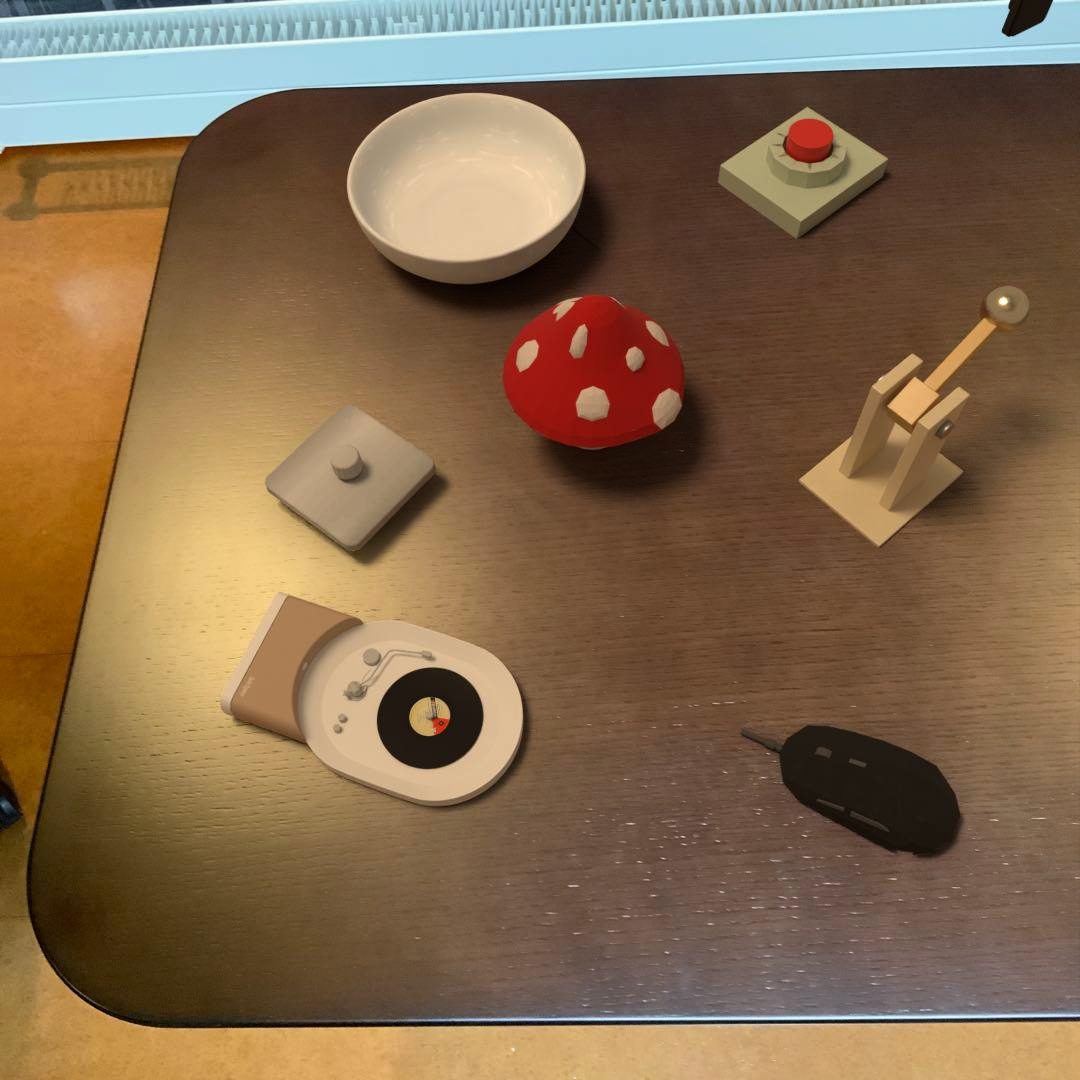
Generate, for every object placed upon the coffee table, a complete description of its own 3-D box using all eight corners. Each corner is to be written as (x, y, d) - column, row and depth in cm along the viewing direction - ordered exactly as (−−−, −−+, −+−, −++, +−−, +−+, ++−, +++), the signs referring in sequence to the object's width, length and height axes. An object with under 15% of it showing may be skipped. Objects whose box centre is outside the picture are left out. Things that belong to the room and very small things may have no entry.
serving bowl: (331, 191, 100) (315, 131, 94) (532, 129, 104) (530, 67, 98) (403, 345, 90) (391, 289, 84) (623, 271, 94) (626, 212, 88)
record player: (287, 573, 76) (546, 659, 72) (296, 592, 79) (546, 676, 75) (208, 718, 71) (484, 819, 67) (221, 733, 73) (486, 831, 70)
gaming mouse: (757, 694, 74) (767, 672, 70) (965, 788, 70) (986, 770, 67) (723, 771, 71) (731, 753, 68) (937, 874, 67) (957, 860, 64)
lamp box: (803, 125, 103) (811, 90, 100) (882, 177, 99) (893, 142, 96) (717, 183, 99) (722, 148, 96) (796, 239, 95) (805, 205, 92)
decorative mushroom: (502, 366, 89) (490, 234, 76) (664, 354, 89) (679, 220, 76) (512, 507, 82) (501, 388, 69) (687, 494, 82) (709, 372, 69)
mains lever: (1000, 289, 75) (1003, 269, 72) (1038, 314, 73) (1042, 295, 70) (882, 414, 76) (880, 400, 73) (917, 441, 74) (917, 427, 72)
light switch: (358, 567, 80) (346, 534, 75) (268, 501, 83) (251, 465, 79) (443, 480, 83) (435, 444, 79) (353, 420, 87) (341, 382, 82)
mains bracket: (879, 418, 85) (921, 319, 75) (959, 479, 82) (1014, 385, 72) (796, 487, 82) (827, 394, 72) (875, 554, 79) (920, 466, 69)
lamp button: (805, 128, 97) (809, 112, 96) (838, 149, 96) (842, 133, 94) (776, 148, 96) (779, 132, 95) (809, 170, 95) (813, 154, 93)
